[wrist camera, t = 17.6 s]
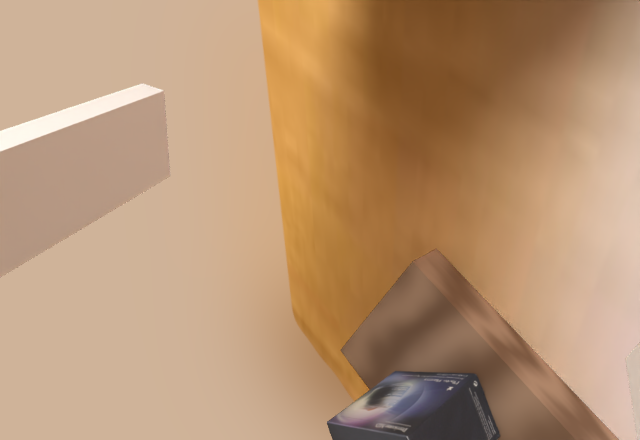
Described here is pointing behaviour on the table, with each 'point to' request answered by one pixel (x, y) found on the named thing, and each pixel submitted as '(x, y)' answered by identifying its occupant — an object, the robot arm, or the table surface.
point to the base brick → (468, 353)
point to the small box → (418, 410)
